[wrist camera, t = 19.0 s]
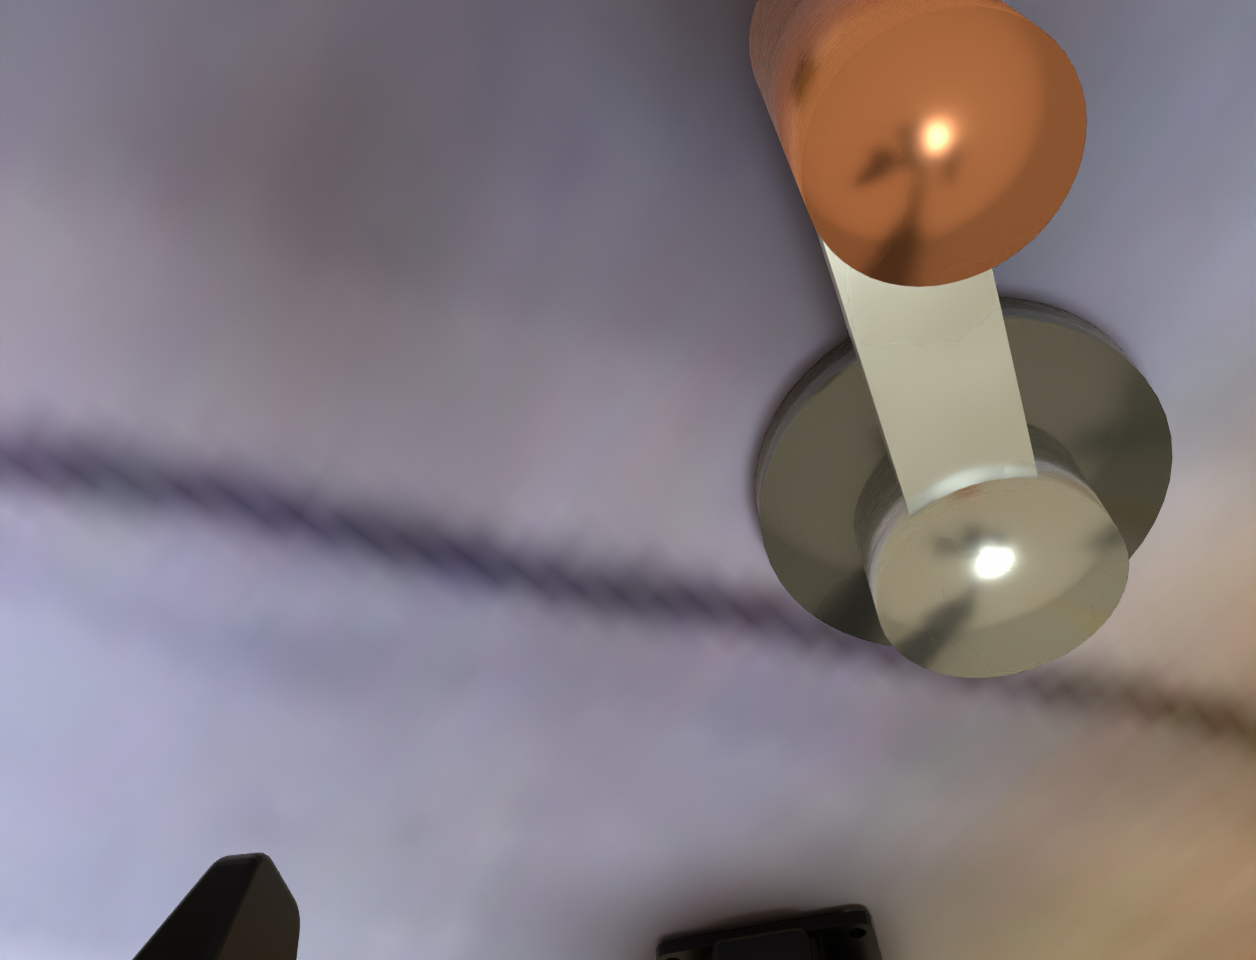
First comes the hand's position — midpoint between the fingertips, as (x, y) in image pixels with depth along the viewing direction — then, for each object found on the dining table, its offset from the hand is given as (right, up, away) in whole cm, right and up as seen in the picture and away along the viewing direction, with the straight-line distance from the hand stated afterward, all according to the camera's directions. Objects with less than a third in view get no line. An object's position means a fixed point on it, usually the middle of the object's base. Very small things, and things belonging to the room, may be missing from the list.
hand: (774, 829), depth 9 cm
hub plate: (+5, +3, +13) cm, 14 cm away
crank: (+4, +6, +9) cm, 11 cm away
